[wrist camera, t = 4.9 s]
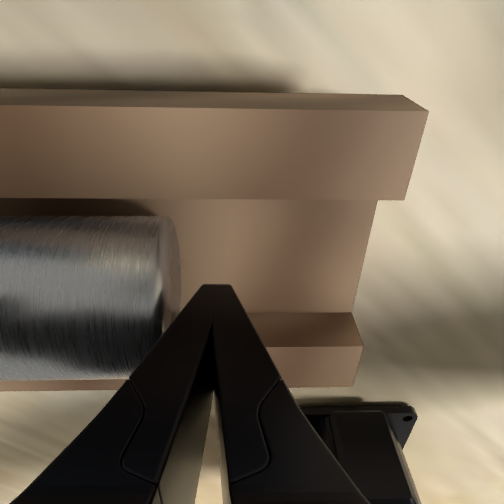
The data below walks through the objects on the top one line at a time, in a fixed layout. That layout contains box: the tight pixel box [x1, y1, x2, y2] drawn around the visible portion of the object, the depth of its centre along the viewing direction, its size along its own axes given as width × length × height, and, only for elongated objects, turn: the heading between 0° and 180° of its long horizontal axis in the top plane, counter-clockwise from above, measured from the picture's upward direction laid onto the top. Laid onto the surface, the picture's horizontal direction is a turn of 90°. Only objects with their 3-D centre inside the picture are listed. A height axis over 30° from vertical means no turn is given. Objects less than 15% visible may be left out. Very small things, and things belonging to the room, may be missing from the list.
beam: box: [0, 88, 429, 391], centre depth 11 cm, size 16×9×4 cm, turn 89°
